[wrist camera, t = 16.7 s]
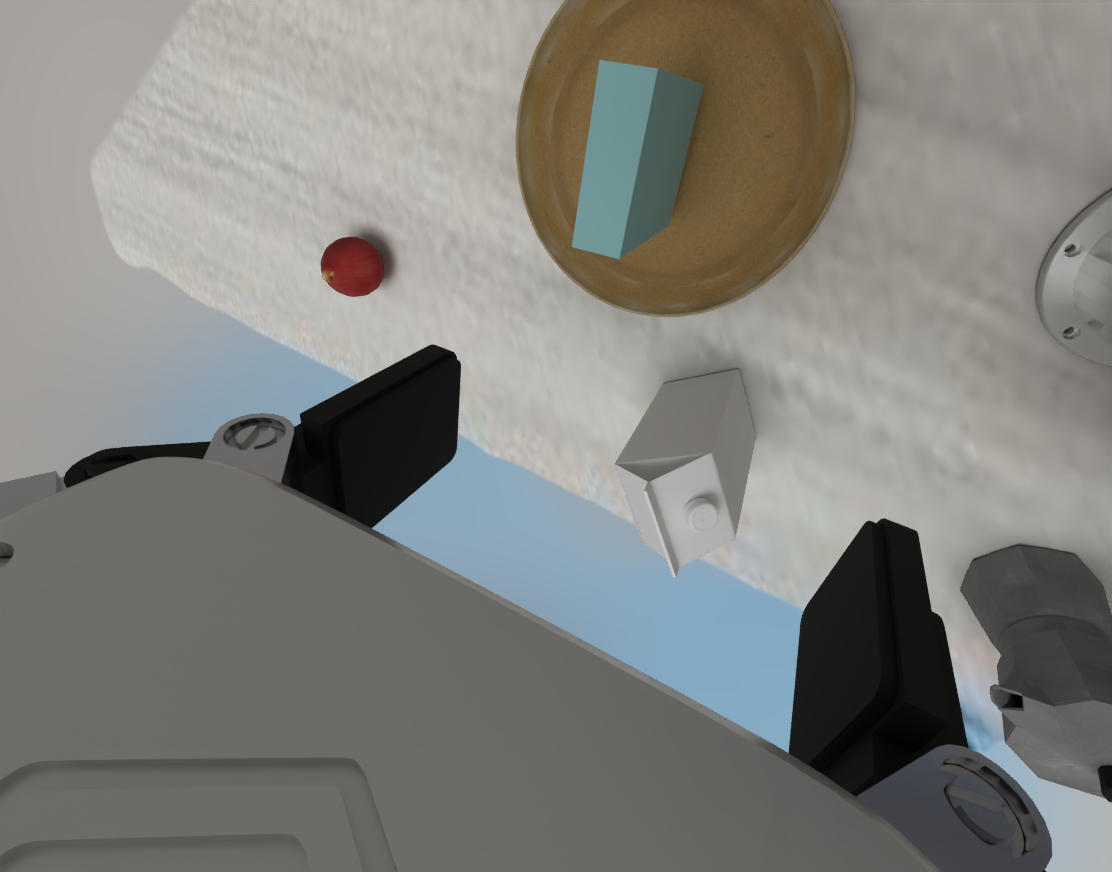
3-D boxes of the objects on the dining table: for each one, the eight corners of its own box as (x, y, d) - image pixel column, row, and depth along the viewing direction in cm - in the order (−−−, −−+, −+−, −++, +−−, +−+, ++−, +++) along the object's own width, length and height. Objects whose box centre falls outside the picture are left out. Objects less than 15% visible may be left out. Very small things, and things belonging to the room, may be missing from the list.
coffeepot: (912, 578, 48) (951, 766, 34) (991, 512, 43) (1077, 704, 28) (1084, 666, 46) (1202, 908, 32) (1192, 608, 40) (1396, 871, 26)
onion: (365, 287, 58) (311, 307, 52) (349, 233, 55) (289, 248, 49) (406, 285, 56) (354, 305, 49) (390, 229, 53) (333, 243, 47)
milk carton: (682, 446, 51) (626, 577, 36) (662, 382, 49) (594, 495, 34) (756, 437, 48) (728, 578, 33) (739, 367, 45) (700, 486, 30)
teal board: (703, 84, 34) (657, 68, 24) (669, 225, 39) (619, 259, 29) (660, 78, 35) (599, 59, 25) (632, 217, 40) (571, 246, 30)
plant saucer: (935, 140, 33) (944, 141, 31) (663, 359, 48) (654, 372, 46) (689, -167, 31) (678, -193, 29) (484, 162, 46) (464, 164, 43)
